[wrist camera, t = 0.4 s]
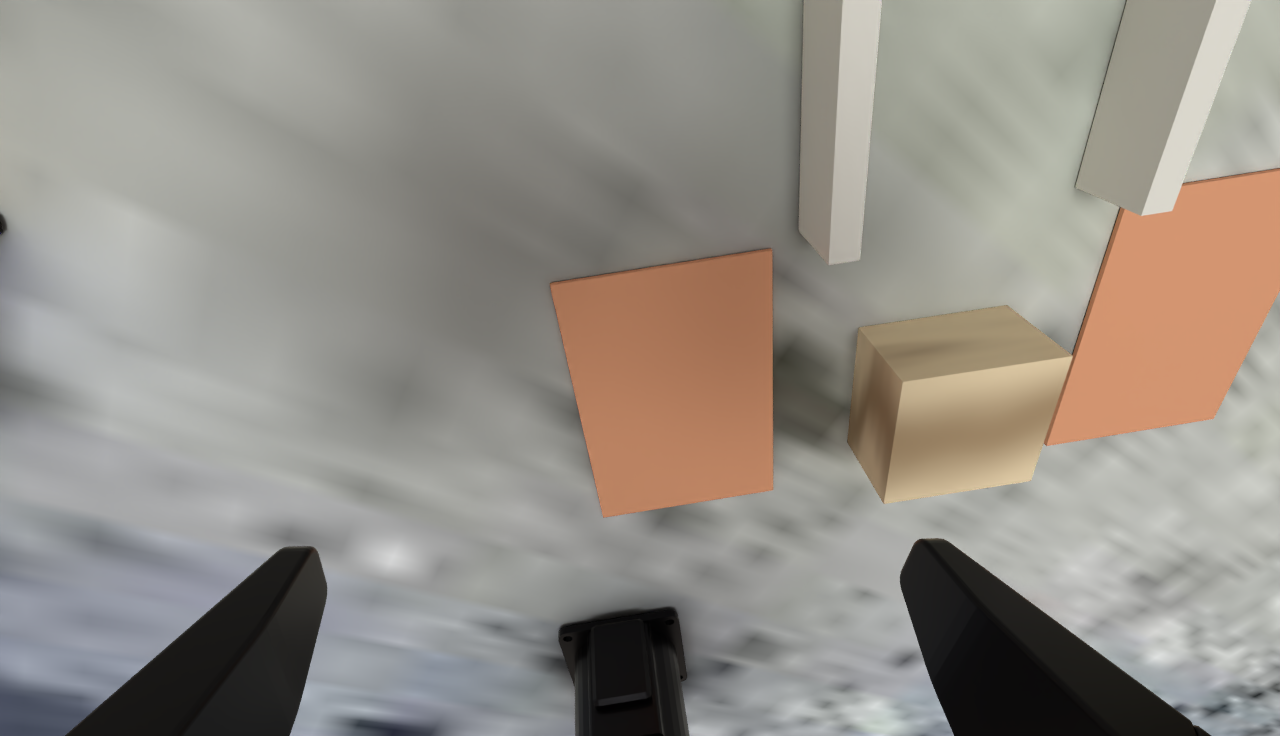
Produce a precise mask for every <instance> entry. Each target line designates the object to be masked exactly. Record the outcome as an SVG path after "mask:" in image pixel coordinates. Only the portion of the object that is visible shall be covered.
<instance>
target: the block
mask: <svg viewBox="0 0 1280 736" xmlns="http://www.w3.org/2000/svg"><path fill="white" fill-rule="evenodd" d="M1072 358H1073V356H1072V355H1071V354H1070V353H1068V352H1067V351H1066V350H1065V349H1063V348H1062V347H1061V346H1059V345H1058V344H1057V343H1055V342H1054V341H1053V340H1051V339H1050V338H1049V337H1048V336H1046V335H1045V334H1044V333H1042V332H1041V331H1040V330H1038V329H1037V328H1036V327H1035V326H1033V325H1032V324H1031V323H1029V322H1028V321H1027V320H1025V319H1024V318H1023V317H1022V316H1020V315H1019V314H1018V313H1016V312H1015V311H1014V310H1012V309H1011V308H1010V307H1009V306H1007V305H1004V306H998V307H991V308H984V309H978V310H971V311H965V312H958V313H951V314H945V315H938V316H931V317H925V318H918V319H912V320H905V321H898V322H892V323H885V324H878V325H872V326H865V327H859V329H858V339H857V349H856V359H855V369H854V379H853V389H852V399H851V409H850V419H849V429H848V439H847V442H848V444H849V446H850V447H851V449H852V451H853V453H854V454H855V456H856V458H857V459H858V461H859V463H860V464H861V466H862V468H863V470H864V471H865V473H866V475H867V476H868V478H869V480H870V481H871V483H872V485H873V487H874V488H875V490H876V492H877V493H878V495H879V497H880V498H881V500H882V502H883V504H887V503H893V502H899V501H906V500H912V499H919V498H925V497H931V496H938V495H944V494H951V493H957V492H963V491H970V490H976V489H982V488H989V487H995V486H1002V485H1008V484H1014V483H1021V482H1027V481H1031V479H1032V476H1033V473H1034V470H1035V467H1036V464H1037V461H1038V458H1039V455H1040V452H1041V449H1042V446H1043V443H1044V440H1045V437H1046V434H1047V431H1048V428H1049V425H1050V423H1051V420H1052V417H1053V414H1054V411H1055V408H1056V405H1057V402H1058V399H1059V396H1060V393H1061V390H1062V387H1063V384H1064V381H1065V378H1066V375H1067V372H1068V369H1069V366H1070V363H1071V361H1072Z"/></svg>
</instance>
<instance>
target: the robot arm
mask: <svg viewBox="0 0 1280 736" xmlns="http://www.w3.org/2000/svg"><path fill="white" fill-rule="evenodd" d="M900 585H901V590H902V593H903V596H904V599H905V602H906V605H907V608H908V611H909V615H910V618H911V621H912V624H913V627H914V630H915V633H916V636H917V640H918V643H919V646H920V649H921V652H922V655H923V658H924V661H925V665H926V668H927V670H928V673H929V676H930V679H931V682H932V684H933V687H934V689H935V692H936V694H937V697H938V699H939V701H940V704H941V706H942V708H943V711H944V713H945V715H946V718H947V720H948V722H949V724H950V727H951V729H952V731H953V734H954V736H1211V735H1210V734H1208V733H1207V732H1206V731H1204V730H1203V729H1201V728H1200V727H1199V726H1196V725H1194V726H1193V724H1192V722H1191V721H1190V720H1189V719H1188V718H1186V717H1185V716H1184V715H1182V714H1181V713H1180V712H1178V711H1177V710H1176V709H1174V708H1173V707H1171V706H1170V705H1169V704H1167V703H1166V702H1165V701H1163V700H1162V699H1161V698H1159V697H1158V696H1157V695H1155V694H1154V693H1153V692H1151V691H1150V690H1148V689H1147V688H1146V687H1144V686H1143V685H1142V684H1140V683H1139V682H1138V681H1136V680H1135V679H1134V678H1132V677H1131V676H1130V675H1128V674H1127V673H1125V672H1124V671H1123V670H1121V669H1120V668H1119V667H1117V666H1116V665H1115V664H1113V663H1112V662H1111V661H1109V660H1108V659H1107V658H1105V657H1104V656H1102V655H1101V654H1100V653H1098V652H1097V651H1096V650H1094V649H1093V648H1092V647H1090V646H1089V645H1088V644H1086V643H1085V642H1084V641H1082V640H1081V639H1080V638H1078V637H1077V636H1075V635H1074V634H1073V633H1071V632H1070V631H1069V630H1067V629H1066V628H1065V627H1063V626H1062V625H1061V624H1059V623H1058V622H1057V621H1055V620H1054V619H1052V618H1051V617H1050V616H1048V615H1047V614H1046V613H1044V612H1043V611H1042V610H1040V609H1039V608H1038V607H1036V606H1035V605H1034V604H1032V603H1031V602H1029V601H1028V600H1027V599H1025V598H1024V597H1023V596H1021V595H1020V594H1019V593H1017V592H1016V591H1015V590H1013V589H1012V588H1011V587H1009V586H1008V585H1006V584H1005V583H1004V582H1002V581H1001V580H1000V579H998V578H997V577H996V576H994V575H993V574H992V573H990V572H989V571H988V570H986V569H985V568H984V567H982V566H981V565H979V564H978V563H977V562H975V561H974V560H973V559H971V558H970V557H969V556H967V555H966V554H965V553H963V552H962V551H961V550H959V549H958V548H956V547H955V546H954V545H952V544H951V543H950V542H948V541H946V540H944V539H939V538H933V539H919V540H917V541H916V542H915V543H914V545H913V547H912V549H911V551H910V553H909V556H908V558H907V560H906V562H905V564H904V566H903V568H902V571H901V574H900ZM326 598H327V583H326V579H325V575H324V572H323V568H322V564H321V561H320V557H319V554H318V551H317V550H316V549H315V548H314V547H311V546H289V547H284V548H282V549H280V550H279V551H277V552H276V553H275V554H274V555H273V556H271V557H270V558H269V559H268V560H267V561H266V562H264V563H263V564H262V565H261V566H260V567H259V568H258V569H256V570H255V571H254V572H253V573H252V574H251V575H250V576H248V577H247V578H246V579H245V580H244V581H243V582H241V583H240V584H239V585H238V586H237V587H236V588H235V589H233V590H232V591H231V592H230V593H229V594H228V595H226V596H225V597H224V598H223V599H222V600H221V601H220V602H218V603H217V604H216V605H215V606H214V607H213V608H211V609H210V610H209V611H208V612H207V613H206V614H205V615H203V616H202V617H201V618H200V619H199V620H198V621H196V622H195V623H194V624H193V625H192V626H191V627H190V628H188V629H187V630H186V631H185V632H184V633H183V634H181V635H180V636H179V637H178V638H177V639H176V640H175V641H173V642H172V643H171V644H170V645H169V646H168V647H166V648H165V649H164V650H163V651H162V652H161V653H160V654H158V655H157V656H156V657H155V658H154V659H153V660H151V661H150V662H149V663H148V664H147V665H146V666H145V667H143V668H142V669H141V670H140V671H139V672H138V673H137V674H135V675H134V676H133V677H132V678H131V679H130V680H128V681H127V682H126V683H125V684H124V685H123V686H122V687H120V688H119V689H118V690H117V691H116V692H115V693H113V694H112V695H111V696H110V697H109V698H108V699H107V700H105V701H104V702H103V703H102V704H101V705H100V706H98V707H97V708H96V709H95V710H94V711H93V712H92V713H90V714H89V715H88V716H87V717H86V718H85V719H83V720H82V721H81V722H80V723H79V724H78V725H77V726H75V727H74V728H73V729H72V730H71V731H70V732H68V733H67V734H66V735H65V736H289V735H290V733H291V730H292V727H293V724H294V721H295V718H296V715H297V712H298V709H299V705H300V702H301V698H302V695H303V691H304V687H305V683H306V679H307V675H308V671H309V667H310V663H311V659H312V655H313V651H314V647H315V643H316V639H317V635H318V631H319V627H320V623H321V619H322V615H323V611H324V607H325V603H326ZM559 643H560V646H561V649H562V652H563V654H564V657H565V660H566V663H567V666H568V669H569V672H570V675H571V678H572V680H573V683H574V686H575V736H689V730H688V723H687V717H686V711H685V704H684V698H683V691H682V685H681V682H682V681H684V680H686V678H687V672H686V665H685V658H684V652H683V645H682V638H681V632H680V625H679V619H678V614H677V612H676V611H674V610H665V611H659V612H653V613H646V614H640V615H634V616H628V617H622V618H616V619H610V620H604V621H598V622H592V623H585V624H579V625H573V626H567V627H563V628H561V629H560V630H559Z"/></svg>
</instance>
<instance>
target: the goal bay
mask: <svg viewBox="0 0 1280 736" xmlns="http://www.w3.org/2000/svg"><path fill="white" fill-rule="evenodd" d="M1250 3H1251V0H1127V2H1126V6H1125V9H1124V13H1123V17H1122V20H1121V24H1120V27H1119V31H1118V35H1117V38H1116V42H1115V45H1114V49H1113V53H1112V56H1111V60H1110V63H1109V67H1108V71H1107V74H1106V78H1105V81H1104V85H1103V89H1102V92H1101V96H1100V99H1099V103H1098V107H1097V110H1096V114H1095V117H1094V121H1093V125H1092V128H1091V132H1090V135H1089V139H1088V143H1087V146H1086V150H1085V153H1084V157H1083V161H1082V164H1081V168H1080V171H1079V175H1078V179H1077V182H1076V186H1075V188H1077V189H1080V190H1082V191H1084V192H1087V193H1089V194H1091V195H1094V196H1096V197H1098V198H1101V199H1103V200H1105V201H1108V202H1110V203H1112V204H1115V205H1117V206H1119V207H1122V208H1124V209H1126V210H1128V211H1131V212H1133V213H1135V214H1138V215H1140V216H1144V215H1150V214H1157V213H1163V212H1169V211H1172V210H1173V208H1174V205H1175V202H1176V200H1177V197H1178V194H1179V192H1180V189H1181V186H1182V184H1183V181H1184V178H1185V176H1186V173H1187V170H1188V168H1189V165H1190V162H1191V160H1192V157H1193V154H1194V152H1195V149H1196V146H1197V144H1198V141H1199V138H1200V136H1201V133H1202V130H1203V128H1204V125H1205V122H1206V120H1207V117H1208V114H1209V112H1210V109H1211V107H1212V104H1213V101H1214V99H1215V96H1216V93H1217V91H1218V88H1219V85H1220V83H1221V80H1222V77H1223V75H1224V72H1225V69H1226V67H1227V64H1228V61H1229V59H1230V56H1231V53H1232V51H1233V48H1234V45H1235V43H1236V40H1237V37H1238V35H1239V32H1240V29H1241V27H1242V24H1243V21H1244V19H1245V16H1246V13H1247V11H1248V8H1249V6H1250ZM881 6H882V0H804V7H803V52H802V97H801V142H800V187H799V232H800V233H801V234H802V235H803V236H804V238H805V239H806V240H807V241H808V242H809V243H810V244H811V246H812V247H813V248H814V249H815V250H816V251H817V252H818V254H819V255H820V256H821V257H822V258H823V259H824V260H825V262H826V263H827V264H828V265H833V264H840V263H846V262H852V261H859V260H860V255H861V244H862V232H863V220H864V208H865V196H866V184H867V172H868V160H869V148H870V137H871V125H872V113H873V101H874V89H875V77H876V65H877V53H878V41H879V30H880V18H881Z"/></svg>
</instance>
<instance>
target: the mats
mask: <svg viewBox="0 0 1280 736" xmlns="http://www.w3.org/2000/svg"><path fill="white" fill-rule="evenodd" d="M550 288H551V293H552V297H553V301H554V306H555V310H556V314H557V319H558V323H559V327H560V332H561V336H562V340H563V345H564V349H565V353H566V358H567V362H568V366H569V371H570V375H571V379H572V384H573V388H574V392H575V397H576V401H577V405H578V410H579V414H580V418H581V423H582V427H583V432H584V436H585V440H586V445H587V449H588V453H589V458H590V462H591V466H592V471H593V475H594V479H595V484H596V488H597V492H598V497H599V501H600V505H601V510H602V514H603V518H604V517H610V516H616V515H623V514H629V513H635V512H641V511H647V510H653V509H660V508H666V507H672V506H678V505H684V504H690V503H697V502H703V501H709V500H715V499H721V498H728V497H734V496H740V495H746V494H752V493H758V492H765V491H771V490H773V304H772V249H771V248H770V249H764V250H757V251H751V252H744V253H738V254H732V255H725V256H719V257H713V258H706V259H700V260H694V261H687V262H681V263H674V264H668V265H662V266H655V267H649V268H643V269H636V270H630V271H624V272H617V273H611V274H604V275H598V276H592V277H585V278H579V279H573V280H566V281H560V282H554V283H550ZM1279 291H1280V168H1279V169H1273V170H1266V171H1260V172H1253V173H1247V174H1241V175H1234V176H1228V177H1222V178H1215V179H1209V180H1203V181H1196V182H1190V183H1183V184H1182V186H1181V189H1180V192H1179V194H1178V197H1177V200H1176V202H1175V205H1174V208H1173V210H1172V211H1169V212H1163V213H1157V214H1150V215H1144V216H1140V215H1138V214H1135V213H1133V212H1131V211H1128V210H1126V209H1124V208H1122V207H1121V208H1120V211H1119V214H1118V217H1117V220H1116V223H1115V226H1114V229H1113V232H1112V235H1111V238H1110V242H1109V245H1108V248H1107V251H1106V254H1105V257H1104V260H1103V263H1102V266H1101V269H1100V272H1099V275H1098V278H1097V281H1096V284H1095V288H1094V291H1093V294H1092V297H1091V300H1090V303H1089V306H1088V309H1087V312H1086V315H1085V318H1084V321H1083V324H1082V327H1081V330H1080V334H1079V337H1078V340H1077V343H1076V346H1075V349H1074V352H1073V355H1072V356H1073V358H1072V361H1071V363H1070V366H1069V369H1068V372H1067V375H1066V378H1065V381H1064V384H1063V387H1062V390H1061V393H1060V396H1059V399H1058V402H1057V405H1056V408H1055V411H1054V414H1053V417H1052V420H1051V423H1050V425H1049V429H1048V432H1047V435H1046V438H1045V441H1044V444H1045V445H1046V446H1049V445H1055V444H1061V443H1067V442H1073V441H1080V440H1086V439H1092V438H1098V437H1104V436H1110V435H1117V434H1123V433H1129V432H1135V431H1141V430H1147V429H1154V428H1160V427H1166V426H1172V425H1178V424H1184V423H1191V422H1197V421H1203V420H1209V419H1214V417H1215V415H1216V413H1217V411H1218V409H1219V407H1220V405H1221V403H1222V401H1223V399H1224V397H1225V395H1226V393H1227V391H1228V390H1229V388H1230V386H1231V384H1232V382H1233V380H1234V378H1235V376H1236V374H1237V372H1238V370H1239V368H1240V366H1241V364H1242V362H1243V361H1244V359H1245V357H1246V355H1247V353H1248V351H1249V349H1250V347H1251V345H1252V343H1253V341H1254V339H1255V337H1256V335H1257V334H1258V332H1259V330H1260V328H1261V326H1262V324H1263V322H1264V320H1265V318H1266V316H1267V314H1268V312H1269V310H1270V308H1271V306H1272V305H1273V303H1274V301H1275V299H1276V297H1277V295H1278V293H1279Z"/></svg>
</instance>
